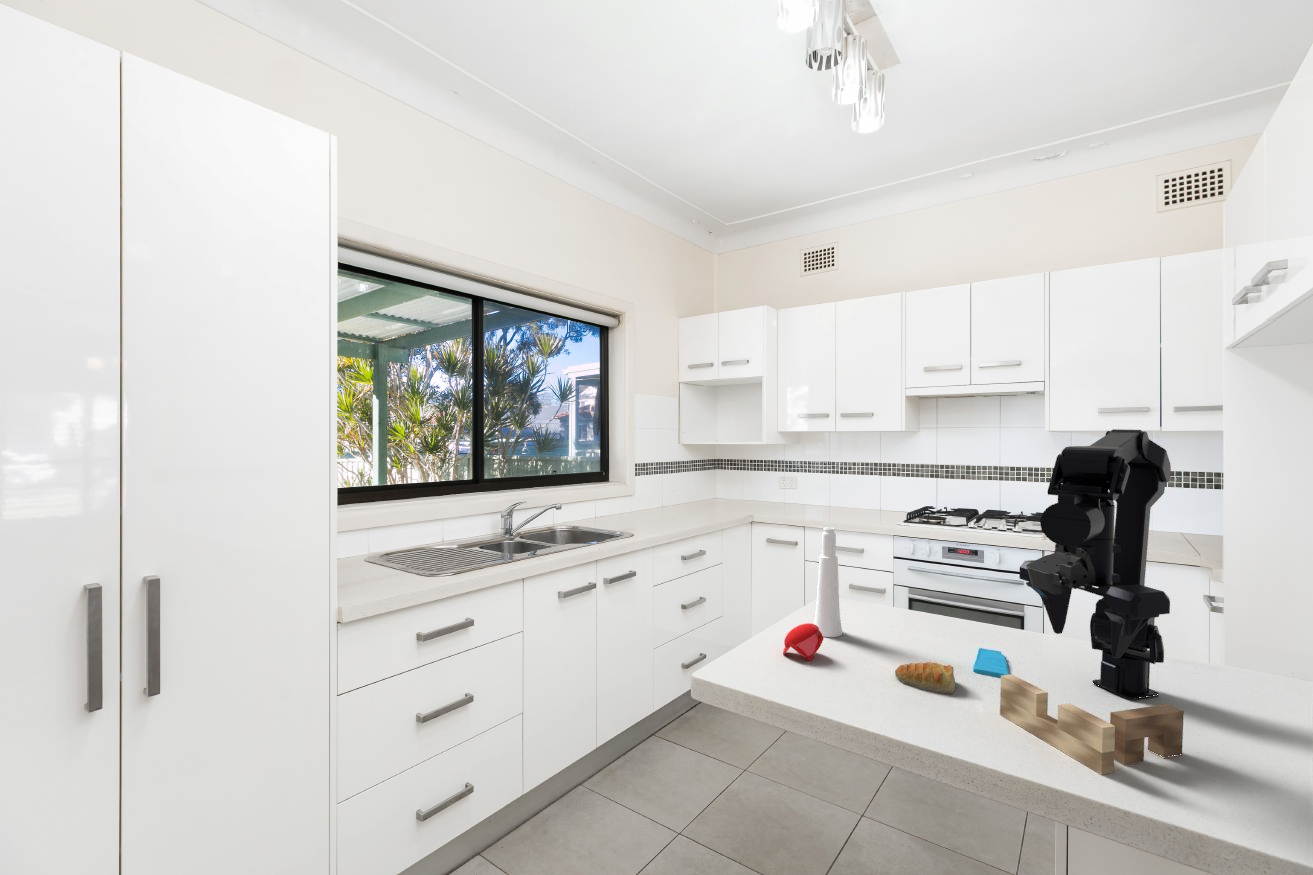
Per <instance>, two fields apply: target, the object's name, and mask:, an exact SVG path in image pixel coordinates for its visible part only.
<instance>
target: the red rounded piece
mask: <svg viewBox="0 0 1313 875" xmlns="http://www.w3.org/2000/svg"><path fill="white" fill-rule="evenodd" d="M823 641H824V637H823V636H822V633H821V632H820V630H819V627H818V626H817V625H815V624H814V623H811V622H809V623H807V622H806V623H802V624H799V625H797V626H795V627H793V628H792V629H790V631H788V633H787V634H786V636H785V638H784V641H783V642H784V649H783V651H782V655H785V654H786V653H787V652H788V651H789V649H790V648H792V649H793V650H794V651H796V652H797V654H798V655H800V656H802V657H804V658H805V660H806V661H813V660H814V657H815V655H816V653H817V652H818V651H819V649H820V647H821V646H822V644H823Z"/></svg>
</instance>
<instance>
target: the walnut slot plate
mask: <svg viewBox="0 0 1313 875" xmlns="http://www.w3.org/2000/svg"><path fill="white" fill-rule="evenodd" d="M1184 711H1185V710H1183V709H1181V708H1178V707H1176V706H1173V705H1171V704H1168V703H1164V704H1158V705H1151V706H1144V707H1137V708H1132V709H1131V708H1130V709H1125V710H1124V709H1123V710H1118V711H1111V712H1110V714H1109V716H1110V718H1109V719H1110V720H1109V721H1110V722H1109V723H1110V724H1112V725H1114V726H1115V746H1114V761H1116V762H1118V763H1119V764H1121V765H1123V766H1127V765H1132V764H1139V763H1144V762H1145V738H1148V739H1147V751H1148V750H1150V751H1152V752H1154V753H1156V754H1158V755H1161V756H1162V757H1168V756H1172V755H1173V756H1174V755H1179V756H1181V755H1180V754H1182V755H1183V740H1184V714H1185V712H1184ZM1150 751H1149V752H1150ZM1152 752H1151V753H1152ZM1154 753H1153V754H1154ZM1156 754H1155V755H1156ZM1158 755H1157V756H1158ZM1162 757H1161V758H1162ZM1174 757H1175V756H1174ZM1168 758H1169V757H1168Z"/></svg>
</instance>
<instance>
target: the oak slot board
mask: <svg viewBox="0 0 1313 875" xmlns="http://www.w3.org/2000/svg"><path fill="white" fill-rule="evenodd" d="M1009 674H1010V673H1009ZM999 697H1000V701H999V715H1000V716H1002V717H1003V718H1005V719H1006V720H1008V721H1009V722H1012V723H1013V724H1015V725H1017V726H1018V727H1020V728H1021V729H1024V730H1025V731H1027V732H1028V733H1030V734H1032V735H1034V736H1035V737H1037V738H1038V739H1040V740H1042V741H1044V742H1045V743H1047V744H1049V745H1051V746H1052V747H1054V748H1056V750H1058V751H1060V752H1062V753H1064V754H1065V755H1067V756H1069V757H1071V758H1072V759H1074V760H1075V761H1078V762H1079V763H1080V764H1083V765H1084V766H1086V767H1087V768H1089V769H1091V770H1093V771H1094V772H1096V773H1098V774H1099V775H1100V776H1101V775H1102V776H1103V775H1109V774H1112V773H1115V772H1114V771H1115V760H1114V746H1115V726H1114V725H1112V724H1110V722H1109V721H1106V720H1104V719H1103V718H1100V717H1098V716H1096V715H1094V714H1092V713H1090V712H1089V711H1086V710H1084V709H1082V708H1080V707H1078V706H1076V705H1075V704H1072V703H1070V702H1069V703H1064V704H1063V703H1062V704H1058V705H1057V719H1056V718H1055V717H1052V716H1051V715H1049V714H1048V710H1049V709H1048V705H1049V704H1048V702H1049V699H1048V698H1049V692H1048V691H1046V690H1044V689H1042V688H1040V687H1038V686H1036V685H1034V684H1032V683H1030V682H1028V681H1027V680H1025V679H1022V678H1020V677H1018V676H1016V675H1014V674H1010V675H1001V678H1000V696H999Z"/></svg>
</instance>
